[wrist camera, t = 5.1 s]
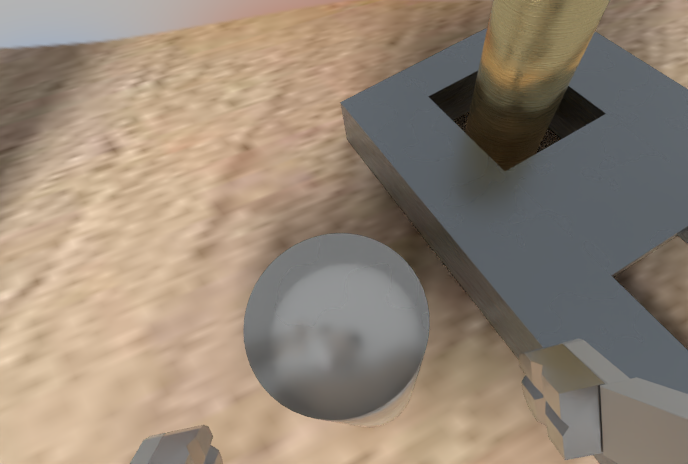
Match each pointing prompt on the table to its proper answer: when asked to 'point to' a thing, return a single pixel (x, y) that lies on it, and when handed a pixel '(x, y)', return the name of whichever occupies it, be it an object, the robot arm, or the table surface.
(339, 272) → the steel peg
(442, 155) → the bolt plate
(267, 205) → the table surface
